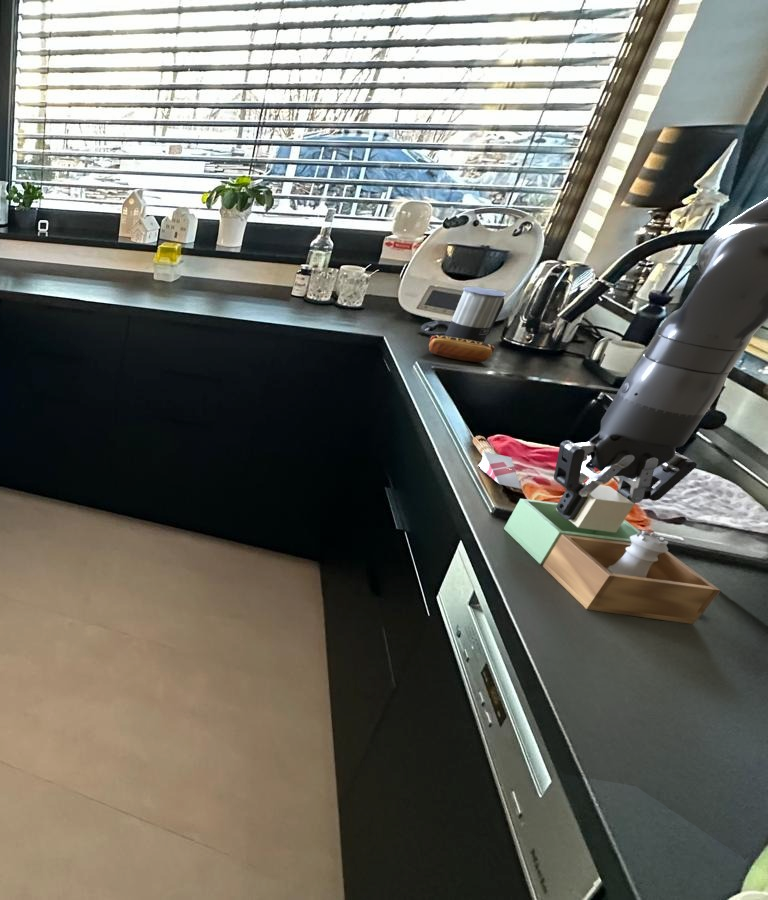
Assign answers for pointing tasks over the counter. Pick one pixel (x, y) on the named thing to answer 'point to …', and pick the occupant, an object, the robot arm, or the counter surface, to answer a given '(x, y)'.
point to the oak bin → (628, 581)
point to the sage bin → (552, 528)
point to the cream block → (603, 510)
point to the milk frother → (471, 315)
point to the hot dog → (460, 348)
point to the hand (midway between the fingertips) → (586, 518)
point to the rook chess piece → (640, 555)
